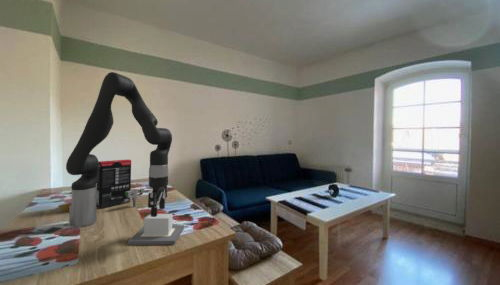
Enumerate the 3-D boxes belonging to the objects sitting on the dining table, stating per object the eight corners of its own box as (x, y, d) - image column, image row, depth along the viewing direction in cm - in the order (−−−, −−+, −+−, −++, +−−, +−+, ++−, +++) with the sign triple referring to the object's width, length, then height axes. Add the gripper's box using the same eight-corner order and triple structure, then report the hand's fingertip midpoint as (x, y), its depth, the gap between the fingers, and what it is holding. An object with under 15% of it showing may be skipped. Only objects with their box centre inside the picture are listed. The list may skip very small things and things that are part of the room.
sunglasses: (54, 214, 108) (55, 204, 109) (62, 209, 121) (62, 201, 121) (88, 209, 116) (88, 200, 116) (92, 205, 128) (92, 197, 129)
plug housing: (144, 235, 84) (144, 218, 84) (149, 229, 89) (149, 213, 89) (168, 234, 85) (168, 218, 85) (172, 229, 90) (172, 213, 90)
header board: (128, 244, 80) (128, 240, 80) (144, 228, 94) (144, 225, 94) (174, 244, 81) (174, 240, 81) (184, 228, 95) (184, 225, 94)
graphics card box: (126, 199, 134) (126, 158, 133) (131, 202, 130) (131, 159, 129) (95, 207, 120) (95, 161, 119) (100, 209, 116) (99, 162, 115)
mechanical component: (144, 204, 125) (144, 188, 125) (126, 209, 116) (126, 192, 116) (141, 203, 127) (141, 188, 126) (124, 208, 118) (124, 191, 118)
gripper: (156, 171, 93) (156, 206, 94) (141, 178, 79) (141, 219, 79) (173, 172, 93) (172, 206, 94) (161, 178, 79) (160, 219, 80)
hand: (158, 212), depth 87 cm, fingers open, 8 cm apart
